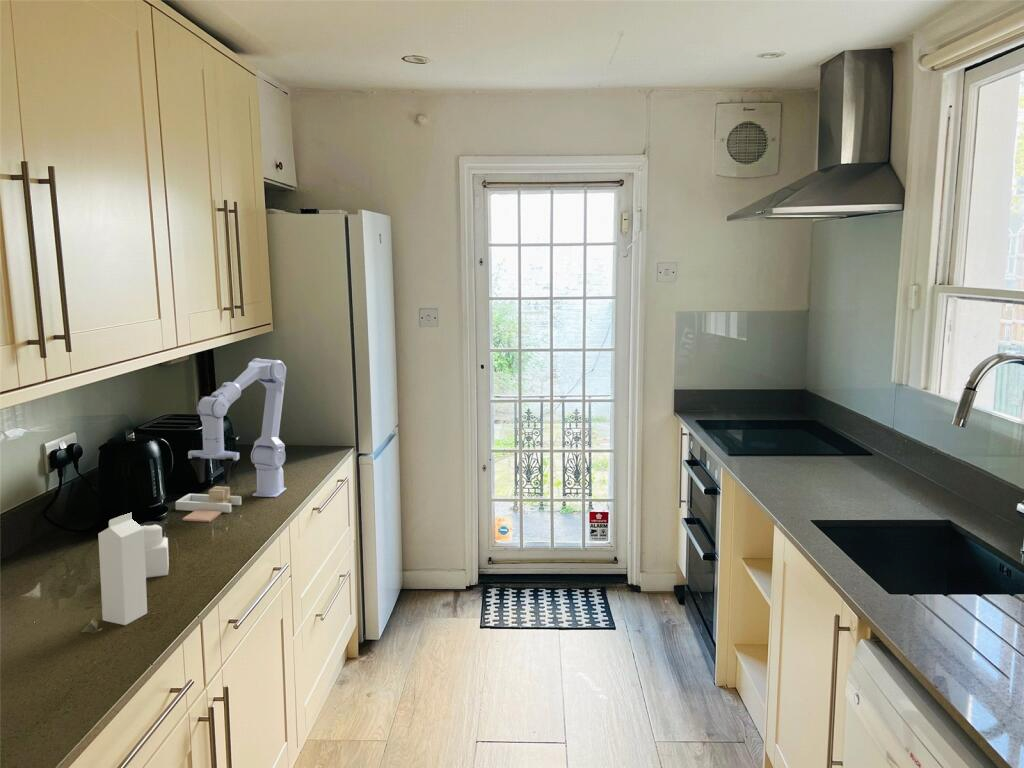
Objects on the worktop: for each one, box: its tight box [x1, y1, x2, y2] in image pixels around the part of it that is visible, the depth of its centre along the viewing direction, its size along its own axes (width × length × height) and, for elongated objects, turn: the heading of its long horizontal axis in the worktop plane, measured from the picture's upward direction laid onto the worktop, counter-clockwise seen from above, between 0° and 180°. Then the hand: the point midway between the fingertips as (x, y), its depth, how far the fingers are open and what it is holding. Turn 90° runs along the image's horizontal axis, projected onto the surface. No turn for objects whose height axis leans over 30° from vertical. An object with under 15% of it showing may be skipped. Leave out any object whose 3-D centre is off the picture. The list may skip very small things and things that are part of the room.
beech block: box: [208, 485, 231, 503], centre depth 228 cm, size 4×4×6 cm
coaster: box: [182, 510, 223, 523], centre depth 220 cm, size 8×8×1 cm
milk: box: [97, 512, 148, 626], centre depth 155 cm, size 6×6×22 cm
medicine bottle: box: [139, 520, 170, 579], centre depth 179 cm, size 7×7×12 cm
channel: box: [175, 493, 243, 513], centre depth 229 cm, size 8×17×2 cm, turn 86°
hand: (214, 482), depth 221 cm, fingers open, 7 cm apart
